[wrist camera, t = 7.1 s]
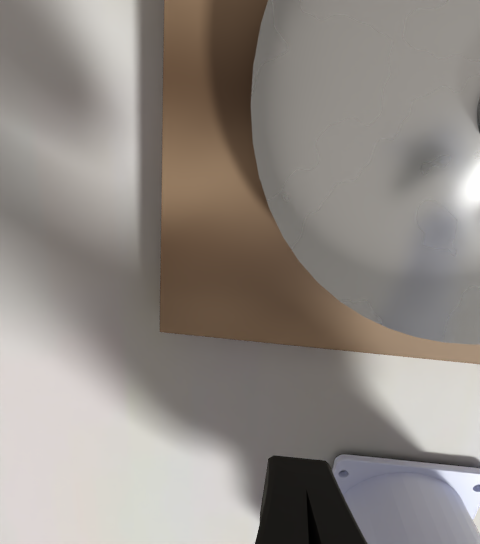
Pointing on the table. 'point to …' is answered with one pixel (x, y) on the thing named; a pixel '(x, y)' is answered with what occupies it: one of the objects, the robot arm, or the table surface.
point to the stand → (239, 206)
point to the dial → (376, 154)
